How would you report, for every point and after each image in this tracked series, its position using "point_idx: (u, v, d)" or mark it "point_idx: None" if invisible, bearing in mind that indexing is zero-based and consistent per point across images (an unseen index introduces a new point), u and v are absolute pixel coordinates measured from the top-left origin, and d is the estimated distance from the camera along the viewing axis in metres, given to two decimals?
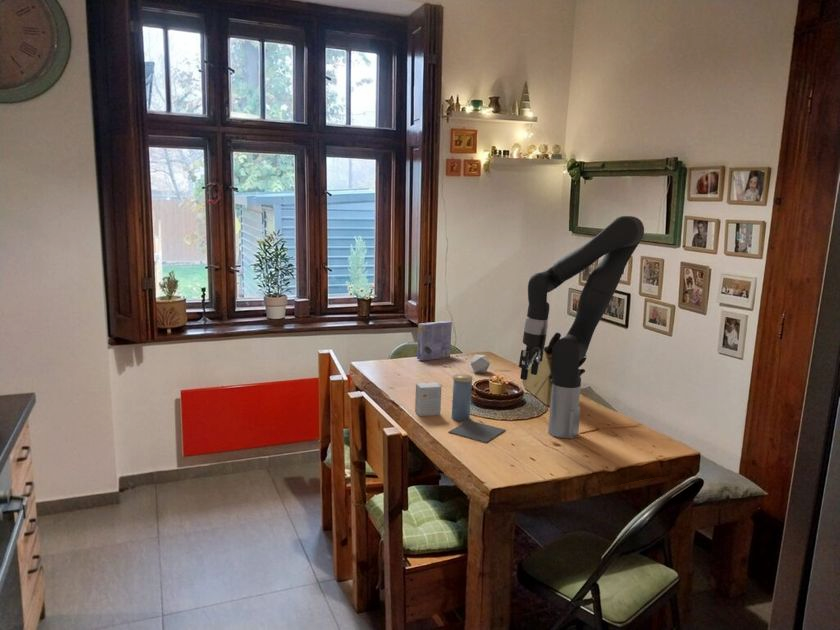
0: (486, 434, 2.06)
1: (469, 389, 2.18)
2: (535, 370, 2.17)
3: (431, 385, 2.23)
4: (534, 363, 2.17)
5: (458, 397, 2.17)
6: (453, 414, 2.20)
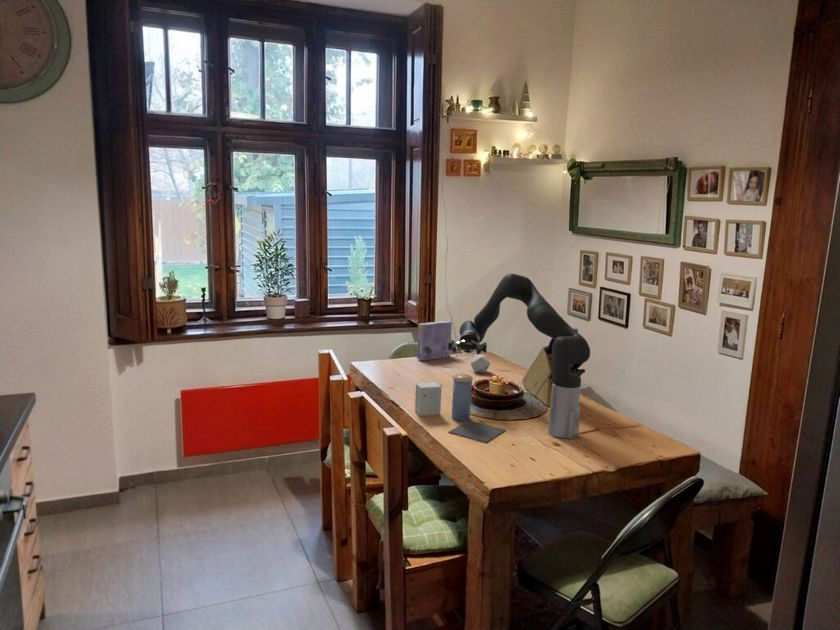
0: (486, 434, 2.06)
1: (469, 389, 2.18)
2: (477, 349, 2.29)
3: (431, 385, 2.23)
4: None
5: (458, 397, 2.17)
6: (453, 414, 2.20)
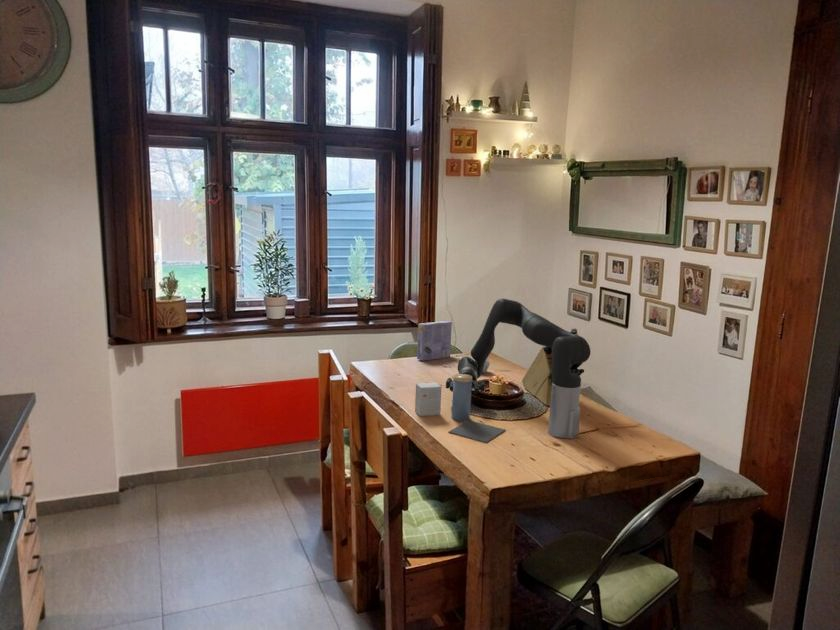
0: (486, 434, 2.06)
1: (469, 389, 2.18)
2: (475, 388, 2.29)
3: (431, 385, 2.23)
4: None
5: (458, 397, 2.17)
6: (453, 414, 2.20)
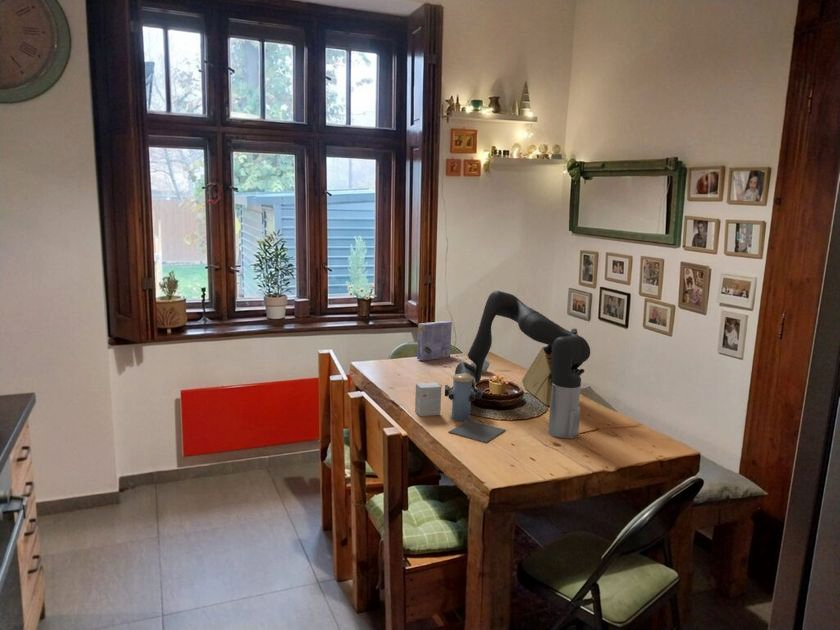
0: (486, 434, 2.06)
1: (469, 389, 2.18)
2: None
3: (431, 385, 2.23)
4: None
5: (458, 397, 2.17)
6: (453, 414, 2.20)
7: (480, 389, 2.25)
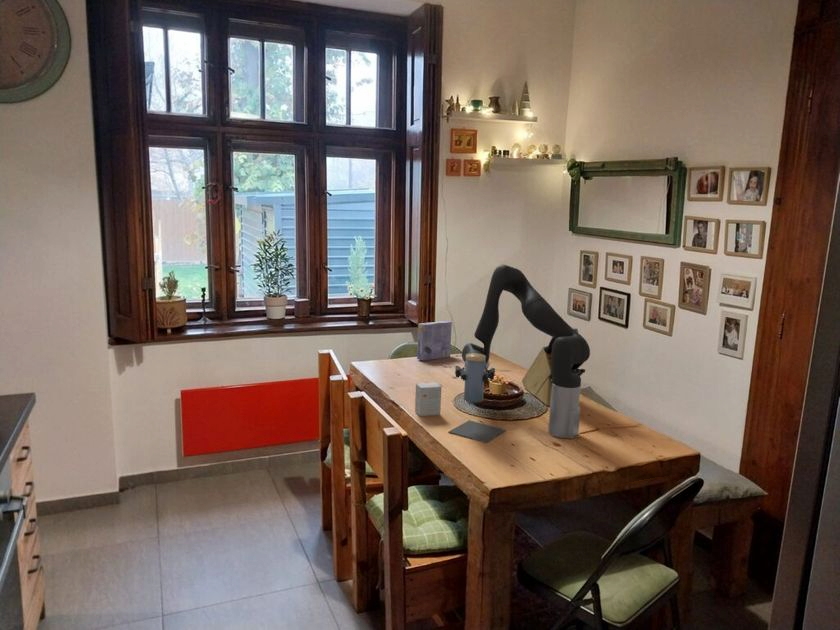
0: (486, 434, 2.06)
1: (483, 369, 2.08)
2: (484, 376, 2.09)
3: (431, 385, 2.23)
4: None
5: (471, 378, 2.07)
6: (466, 395, 2.10)
7: (492, 369, 2.15)
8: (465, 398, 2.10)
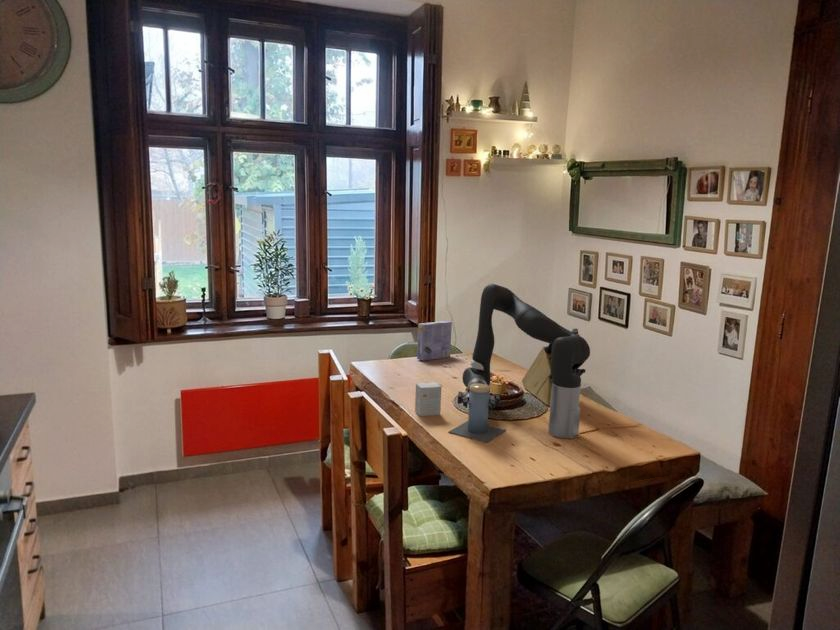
0: (486, 434, 2.06)
1: (487, 400, 2.05)
2: (490, 403, 2.07)
3: (431, 385, 2.23)
4: None
5: (475, 409, 2.05)
6: (470, 426, 2.07)
7: (497, 395, 2.13)
8: (469, 429, 2.07)
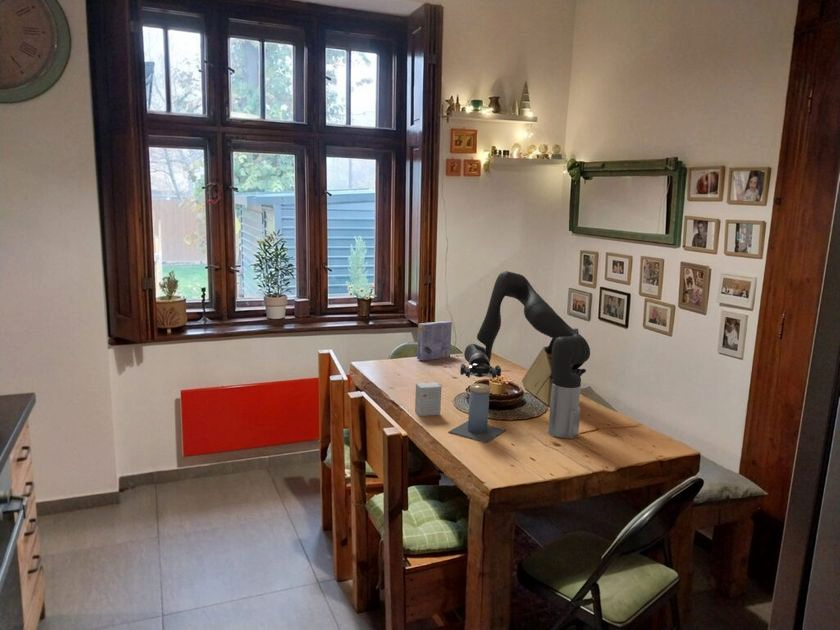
0: (486, 434, 2.06)
1: (487, 400, 2.05)
2: (492, 373, 2.17)
3: (431, 385, 2.23)
4: None
5: (475, 409, 2.05)
6: (470, 426, 2.07)
7: (498, 366, 2.24)
8: (469, 429, 2.08)
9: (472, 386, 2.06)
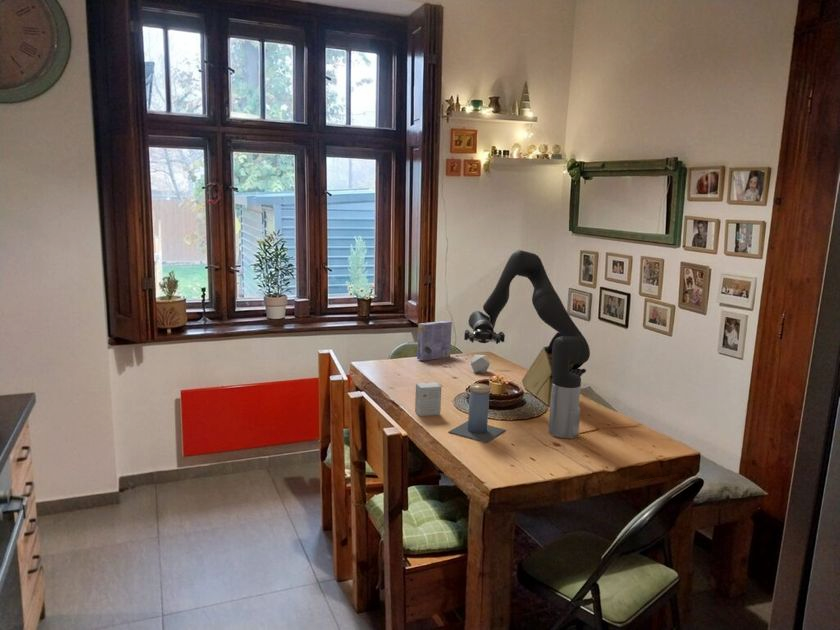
0: (486, 434, 2.06)
1: (487, 400, 2.05)
2: (496, 338, 2.19)
3: (431, 385, 2.23)
4: None
5: (475, 409, 2.05)
6: (470, 426, 2.07)
7: (501, 333, 2.26)
8: (469, 429, 2.08)
9: (472, 386, 2.06)
